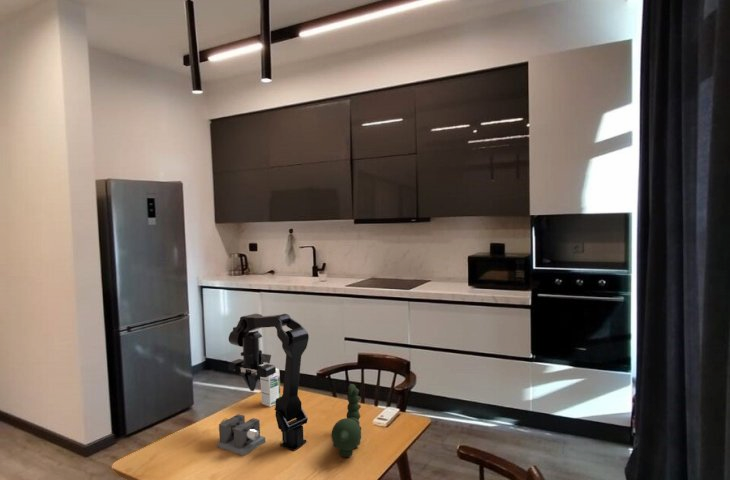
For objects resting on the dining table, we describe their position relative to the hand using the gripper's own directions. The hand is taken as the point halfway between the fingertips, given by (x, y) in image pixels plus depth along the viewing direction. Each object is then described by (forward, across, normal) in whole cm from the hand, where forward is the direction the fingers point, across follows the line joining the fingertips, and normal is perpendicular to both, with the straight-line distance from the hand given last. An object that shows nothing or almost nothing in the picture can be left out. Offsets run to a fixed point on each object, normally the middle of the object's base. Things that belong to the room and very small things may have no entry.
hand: (252, 390), depth 157 cm
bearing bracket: (+13, -6, +12) cm, 19 cm away
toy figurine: (+13, -39, -4) cm, 42 cm away
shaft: (+11, -6, +12) cm, 17 cm away
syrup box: (+13, +8, -18) cm, 24 cm away
